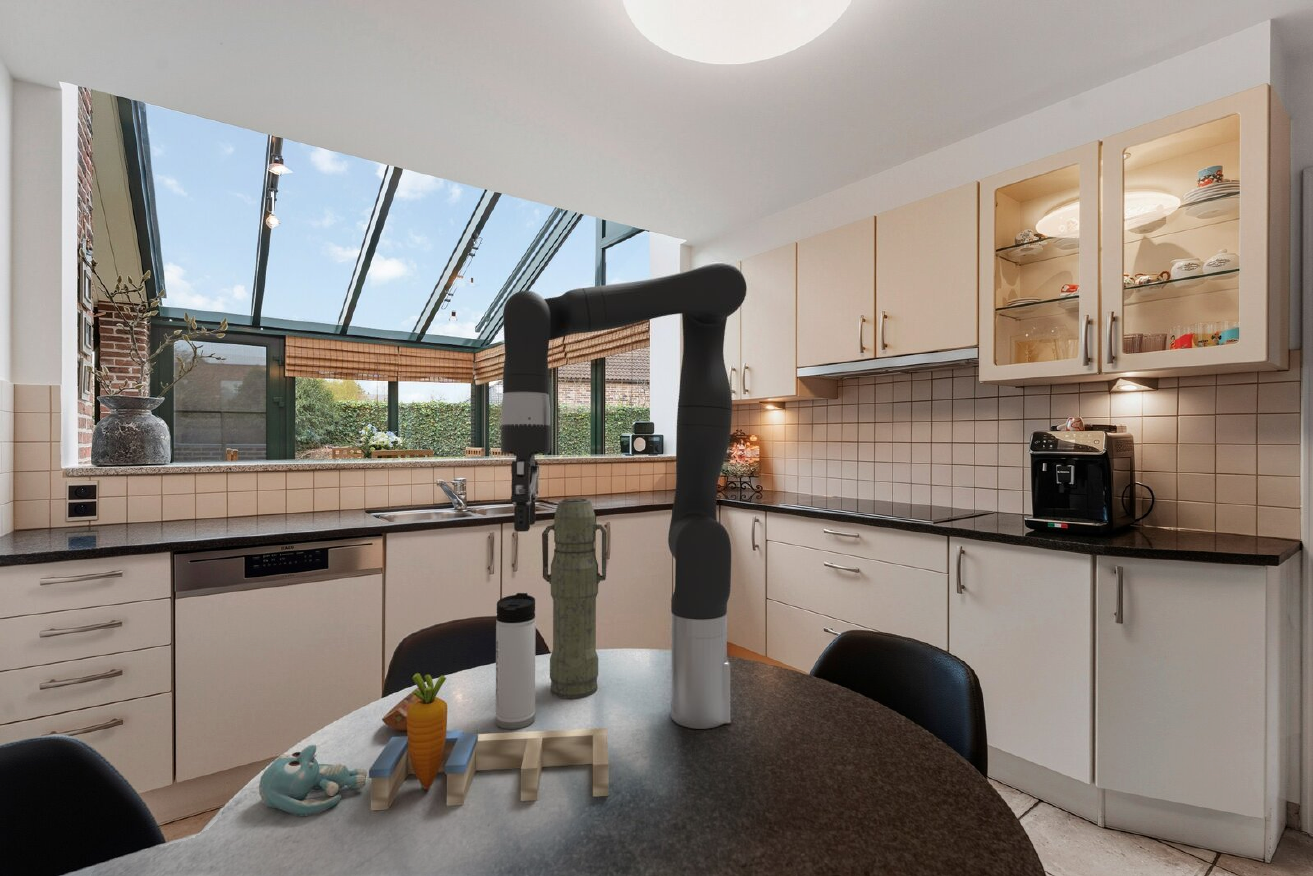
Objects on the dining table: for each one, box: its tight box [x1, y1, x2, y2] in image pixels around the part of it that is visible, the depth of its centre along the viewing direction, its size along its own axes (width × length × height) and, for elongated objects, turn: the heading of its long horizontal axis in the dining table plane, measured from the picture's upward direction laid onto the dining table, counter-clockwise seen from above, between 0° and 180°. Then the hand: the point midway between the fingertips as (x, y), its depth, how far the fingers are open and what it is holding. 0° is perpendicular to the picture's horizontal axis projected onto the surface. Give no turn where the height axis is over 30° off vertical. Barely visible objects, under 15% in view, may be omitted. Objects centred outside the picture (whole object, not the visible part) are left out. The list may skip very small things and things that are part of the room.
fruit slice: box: [381, 687, 421, 731], centre depth 94 cm, size 8×7×5 cm
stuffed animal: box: [258, 744, 368, 817], centre depth 76 cm, size 11×7×12 cm
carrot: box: [406, 672, 448, 790], centre depth 77 cm, size 5×5×15 cm
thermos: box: [541, 498, 607, 700], centre depth 110 cm, size 9×12×35 cm
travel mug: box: [495, 592, 536, 730], centre depth 97 cm, size 6×7×20 cm
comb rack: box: [368, 727, 610, 811], centre depth 79 cm, size 29×10×5 cm, turn 96°
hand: (525, 527), depth 92 cm, fingers open, 8 cm apart
